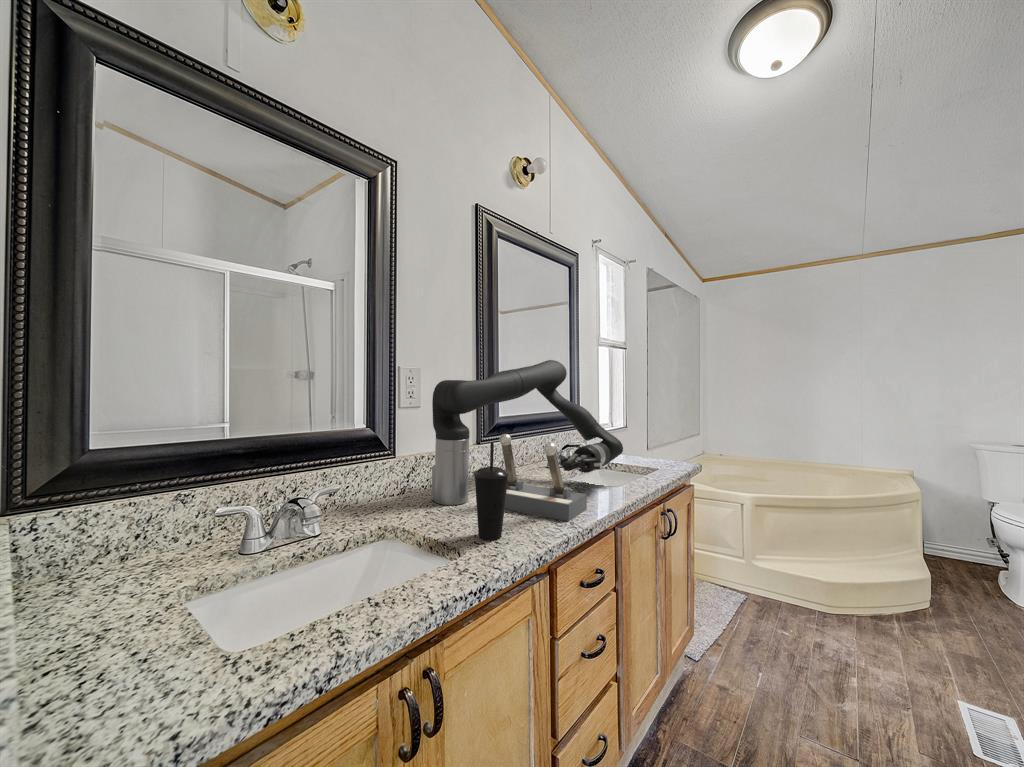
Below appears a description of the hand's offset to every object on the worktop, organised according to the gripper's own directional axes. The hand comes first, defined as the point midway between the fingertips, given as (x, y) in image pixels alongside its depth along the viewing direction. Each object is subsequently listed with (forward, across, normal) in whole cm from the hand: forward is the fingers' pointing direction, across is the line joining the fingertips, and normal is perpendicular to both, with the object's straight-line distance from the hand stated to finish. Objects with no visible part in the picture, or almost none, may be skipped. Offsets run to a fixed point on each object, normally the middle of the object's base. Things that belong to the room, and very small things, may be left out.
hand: (566, 466), depth 113 cm
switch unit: (+4, -7, +11) cm, 14 cm away
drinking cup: (+29, -5, +11) cm, 31 cm away
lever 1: (+4, -14, +6) cm, 16 cm away
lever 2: (+4, 0, +6) cm, 7 cm away
